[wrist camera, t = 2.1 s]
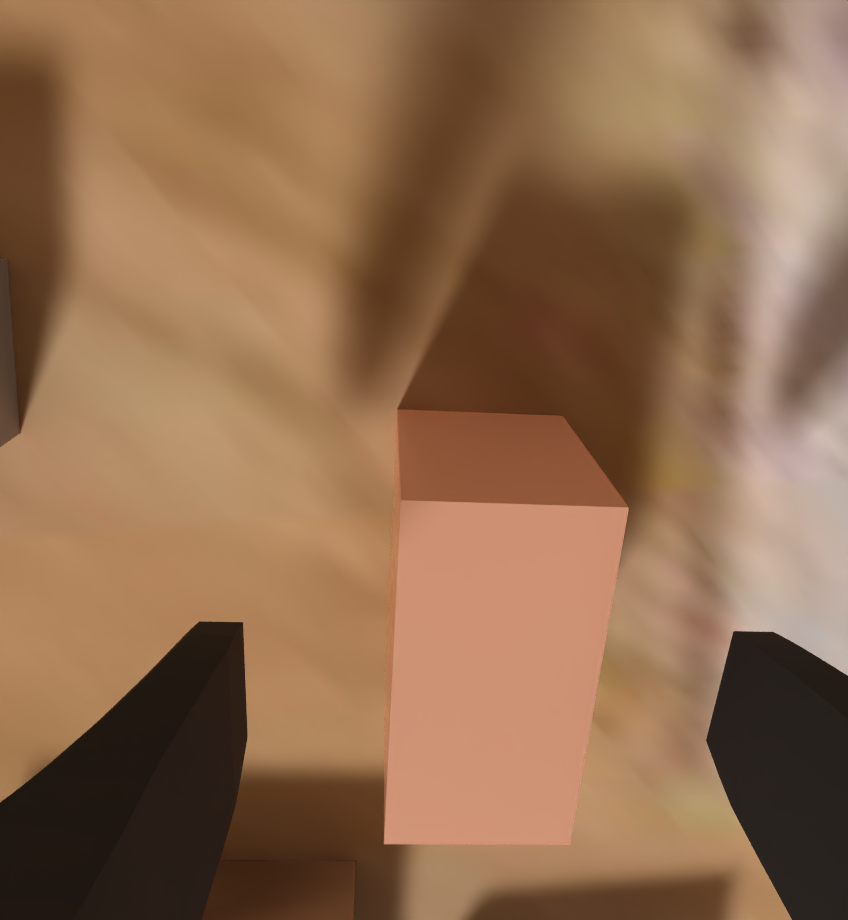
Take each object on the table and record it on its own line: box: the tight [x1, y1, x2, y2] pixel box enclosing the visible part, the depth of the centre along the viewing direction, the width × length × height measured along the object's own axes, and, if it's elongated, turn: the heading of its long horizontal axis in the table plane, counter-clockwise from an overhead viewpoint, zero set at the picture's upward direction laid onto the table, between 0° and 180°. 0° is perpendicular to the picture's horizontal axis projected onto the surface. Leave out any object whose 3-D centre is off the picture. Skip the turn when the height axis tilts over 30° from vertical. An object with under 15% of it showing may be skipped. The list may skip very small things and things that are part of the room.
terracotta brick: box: [384, 409, 629, 845], centre depth 12 cm, size 3×6×4 cm, turn 177°
